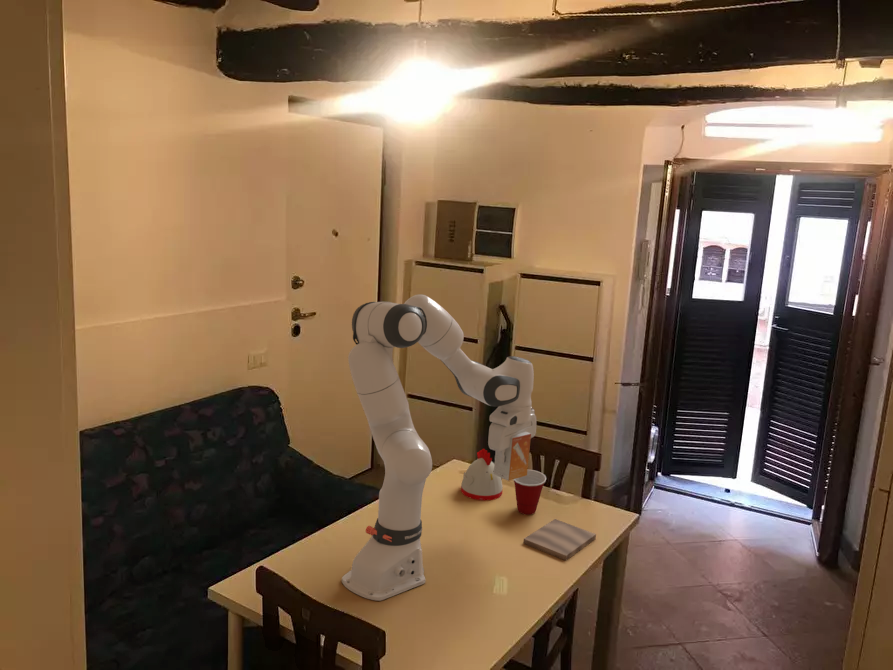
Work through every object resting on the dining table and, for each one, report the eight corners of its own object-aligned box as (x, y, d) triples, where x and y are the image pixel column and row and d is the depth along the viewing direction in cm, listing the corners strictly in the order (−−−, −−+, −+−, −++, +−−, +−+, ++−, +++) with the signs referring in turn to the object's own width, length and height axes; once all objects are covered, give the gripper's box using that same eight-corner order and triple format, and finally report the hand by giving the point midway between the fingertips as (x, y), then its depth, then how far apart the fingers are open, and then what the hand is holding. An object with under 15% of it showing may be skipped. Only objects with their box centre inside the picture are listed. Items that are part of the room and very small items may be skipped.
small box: (508, 481, 208) (512, 438, 206) (492, 474, 213) (496, 431, 210) (527, 475, 214) (531, 433, 211) (512, 468, 218) (515, 427, 216)
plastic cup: (503, 512, 231) (506, 477, 229) (517, 501, 241) (520, 466, 238) (535, 522, 226) (539, 485, 224) (548, 509, 236) (551, 474, 233)
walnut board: (565, 560, 204) (566, 555, 204) (523, 543, 212) (523, 538, 212) (595, 538, 218) (596, 534, 218) (554, 523, 226) (555, 518, 226)
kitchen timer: (474, 503, 237) (477, 459, 234) (453, 486, 249) (456, 445, 246) (510, 496, 244) (513, 454, 241) (488, 481, 256) (491, 440, 253)
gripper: (525, 402, 219) (521, 446, 222) (486, 416, 204) (482, 463, 206) (543, 407, 216) (539, 452, 218) (504, 422, 200) (500, 470, 203)
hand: (511, 457), depth 212 cm, fingers closed on small box, 8 cm apart
